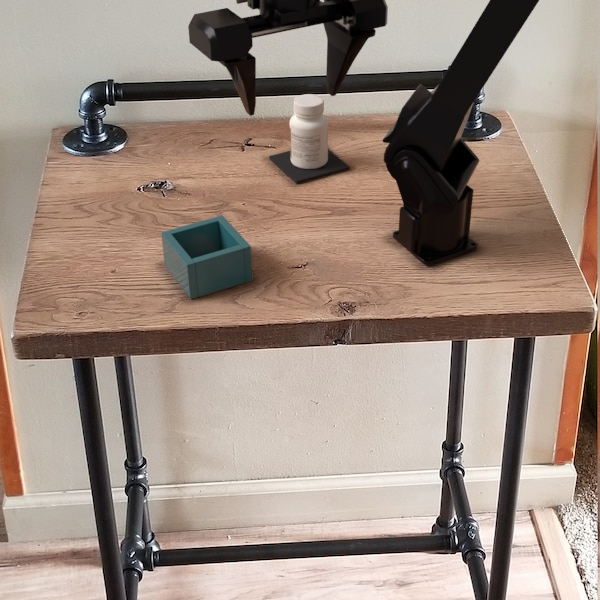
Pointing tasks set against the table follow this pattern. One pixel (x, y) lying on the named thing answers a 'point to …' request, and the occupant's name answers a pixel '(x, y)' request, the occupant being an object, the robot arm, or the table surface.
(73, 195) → the table surface
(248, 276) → the holder
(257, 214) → the table surface
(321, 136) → the pill bottle
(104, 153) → the table surface
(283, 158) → the mat
